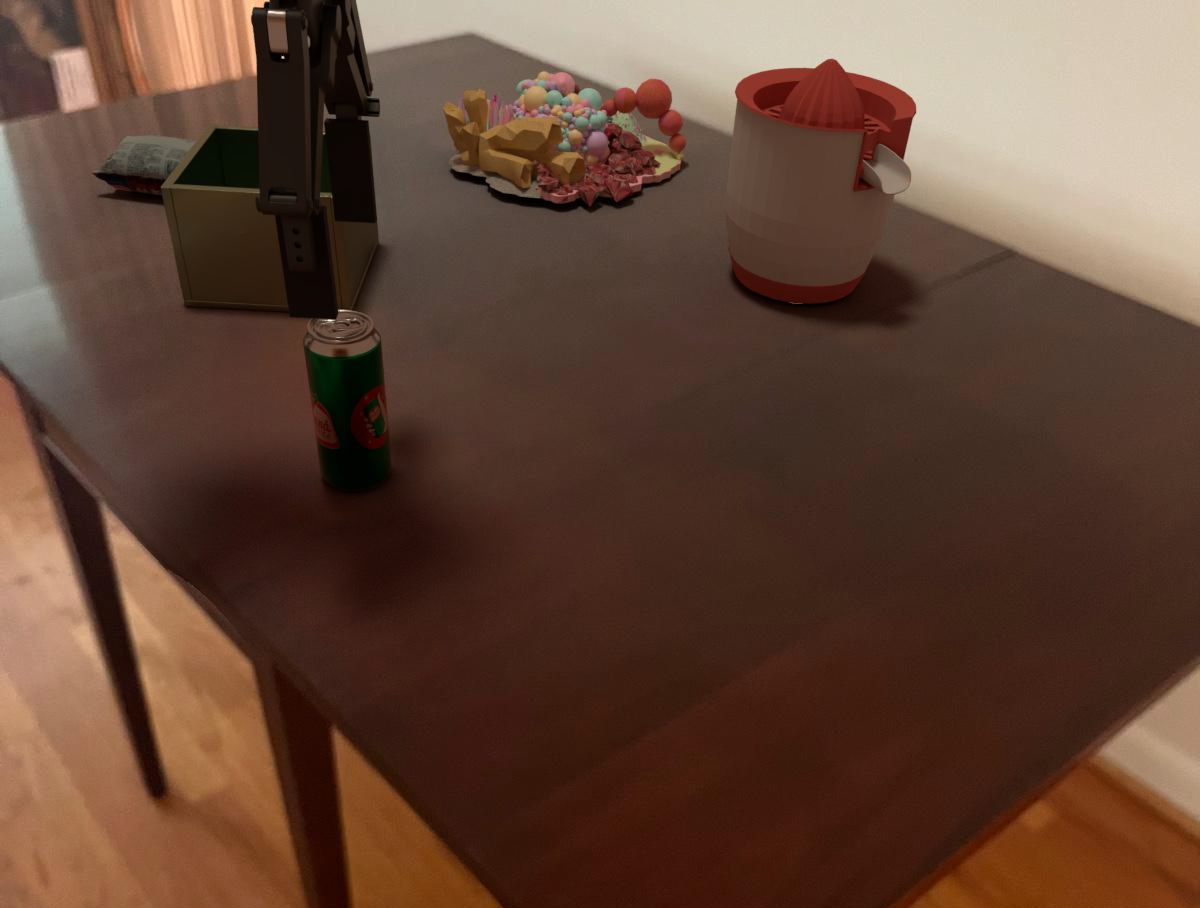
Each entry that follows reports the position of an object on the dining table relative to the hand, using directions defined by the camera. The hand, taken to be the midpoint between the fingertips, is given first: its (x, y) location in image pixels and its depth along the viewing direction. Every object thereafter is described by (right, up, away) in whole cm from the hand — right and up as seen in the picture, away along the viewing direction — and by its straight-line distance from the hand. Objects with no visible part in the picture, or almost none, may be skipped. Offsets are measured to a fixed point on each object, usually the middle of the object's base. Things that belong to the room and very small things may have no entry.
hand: (336, 265), depth 73 cm
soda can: (-1, -12, +11) cm, 16 cm away
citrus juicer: (+36, +9, +38) cm, 53 cm away
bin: (-12, +9, +34) cm, 37 cm away
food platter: (+12, +27, +57) cm, 64 cm away
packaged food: (-28, +21, +47) cm, 59 cm away
